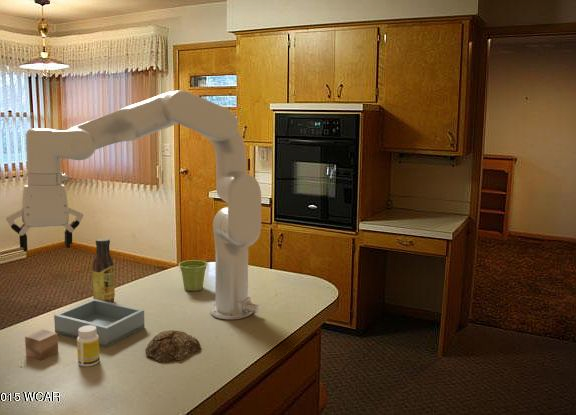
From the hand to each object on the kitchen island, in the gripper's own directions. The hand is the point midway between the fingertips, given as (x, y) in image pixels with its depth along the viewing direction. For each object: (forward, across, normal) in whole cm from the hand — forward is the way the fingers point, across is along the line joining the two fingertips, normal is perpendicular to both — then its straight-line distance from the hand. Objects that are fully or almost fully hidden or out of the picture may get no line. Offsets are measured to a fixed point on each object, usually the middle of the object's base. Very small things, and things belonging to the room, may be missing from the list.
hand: (46, 248), depth 131 cm
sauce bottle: (+24, -19, -21) cm, 37 cm away
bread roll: (+24, -25, +20) cm, 40 cm away
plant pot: (+23, -47, -21) cm, 57 cm away
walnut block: (+24, +2, +7) cm, 25 cm away
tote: (+24, -13, -1) cm, 27 cm away
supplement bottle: (+24, -6, +17) cm, 30 cm away
